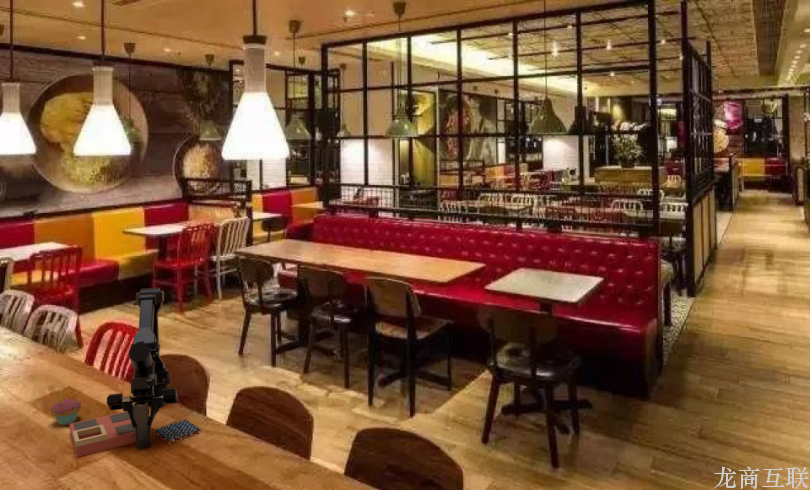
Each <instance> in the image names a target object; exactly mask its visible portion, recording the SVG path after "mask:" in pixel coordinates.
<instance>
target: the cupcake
mask: <svg viewBox="0 0 810 490" xmlns="http://www.w3.org/2000/svg"><path fill="white" fill-rule="evenodd" d="M58 395H59V399H60V401H59V400H58V401H57V402H55V403H54V404H53V405H52V407H51V408H50V413H51V414H50V415H51V416H54V417H55V419H56V420H57V422H58V424H59V425H61V426H65V425H66V426H67V425H70V424H72V423H76V420H77V417H78V414H79V411H81V409H82V404H81V402H80V401H79V400H76V399H74V398H65V399H63V394H62V389H60V388H59V387H58Z"/></svg>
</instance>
